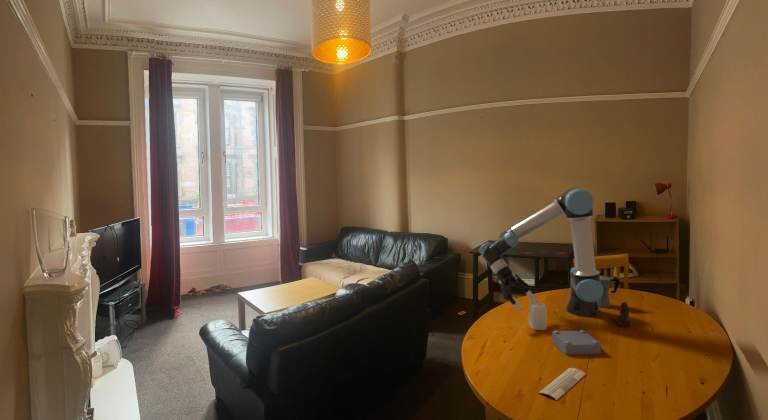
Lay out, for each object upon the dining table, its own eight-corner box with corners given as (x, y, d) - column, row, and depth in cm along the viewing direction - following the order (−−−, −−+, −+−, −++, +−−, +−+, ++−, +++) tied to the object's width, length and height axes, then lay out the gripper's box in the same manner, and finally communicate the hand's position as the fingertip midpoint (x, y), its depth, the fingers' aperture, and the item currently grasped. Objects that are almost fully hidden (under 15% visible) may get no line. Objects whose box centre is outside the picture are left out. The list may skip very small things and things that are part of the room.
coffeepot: (586, 306, 218) (587, 273, 216) (587, 300, 226) (587, 269, 225) (619, 309, 211) (620, 275, 209) (619, 304, 219) (619, 271, 218)
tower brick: (541, 324, 194) (541, 300, 193) (546, 329, 188) (546, 304, 187) (529, 325, 194) (529, 301, 193) (533, 329, 188) (533, 305, 187)
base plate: (584, 339, 176) (584, 329, 175) (600, 354, 162) (601, 343, 161) (552, 340, 176) (552, 330, 176) (565, 354, 162) (565, 343, 162)
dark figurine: (629, 330, 185) (630, 303, 183) (605, 324, 192) (606, 299, 191) (638, 321, 195) (639, 296, 194) (616, 316, 202) (616, 292, 201)
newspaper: (568, 371, 151) (568, 366, 151) (588, 377, 146) (588, 372, 145) (538, 395, 135) (538, 390, 135) (559, 404, 130) (559, 399, 130)
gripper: (511, 270, 214) (537, 304, 203) (481, 278, 198) (507, 316, 188) (520, 261, 209) (547, 296, 199) (490, 270, 194) (517, 308, 183)
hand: (528, 306), depth 193 cm, fingers open, 13 cm apart
